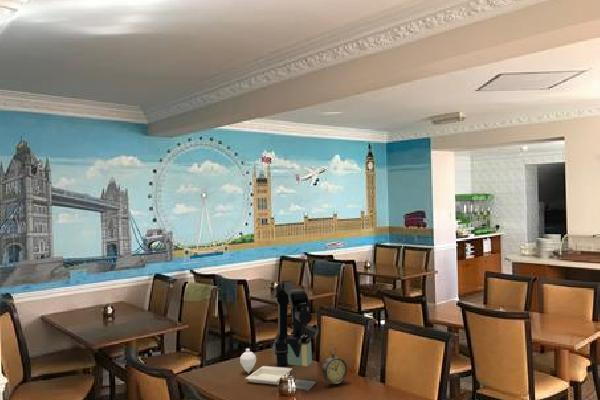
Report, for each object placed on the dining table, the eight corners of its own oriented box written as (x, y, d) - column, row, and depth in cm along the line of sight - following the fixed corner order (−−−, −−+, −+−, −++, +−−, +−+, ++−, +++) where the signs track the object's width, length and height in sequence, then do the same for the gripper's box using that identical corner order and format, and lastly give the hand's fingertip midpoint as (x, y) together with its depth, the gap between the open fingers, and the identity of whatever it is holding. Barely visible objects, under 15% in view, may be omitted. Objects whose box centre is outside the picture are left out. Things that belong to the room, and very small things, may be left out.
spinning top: (237, 375, 234) (236, 349, 234) (249, 370, 239) (248, 345, 239) (247, 378, 228) (246, 352, 229) (260, 374, 234) (259, 348, 234)
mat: (295, 380, 223) (295, 379, 223) (316, 382, 219) (316, 381, 219) (286, 388, 214) (286, 387, 214) (308, 390, 210) (308, 389, 210)
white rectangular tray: (263, 372, 236) (263, 365, 237) (292, 374, 231) (292, 368, 231) (245, 385, 220) (245, 378, 220) (276, 388, 214) (276, 381, 214)
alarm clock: (326, 389, 211) (325, 350, 212) (320, 385, 216) (319, 347, 216) (348, 384, 216) (347, 346, 217) (341, 380, 221) (340, 344, 221)
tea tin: (292, 360, 221) (292, 340, 221) (311, 362, 217) (311, 341, 218) (288, 364, 216) (287, 343, 216) (307, 366, 213) (306, 344, 213)
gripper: (308, 325, 206) (309, 363, 205) (322, 316, 223) (324, 351, 222) (283, 324, 210) (284, 361, 209) (299, 315, 227) (301, 349, 227)
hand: (299, 355), depth 217 cm, fingers closed on tea tin, 5 cm apart
